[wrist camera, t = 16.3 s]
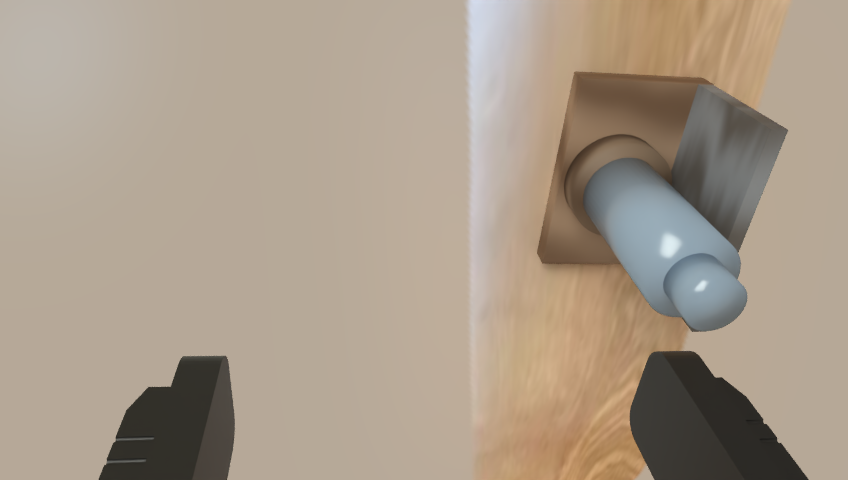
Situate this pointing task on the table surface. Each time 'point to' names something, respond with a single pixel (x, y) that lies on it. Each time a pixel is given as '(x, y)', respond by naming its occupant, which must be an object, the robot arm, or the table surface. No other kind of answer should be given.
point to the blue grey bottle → (665, 245)
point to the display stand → (657, 155)
